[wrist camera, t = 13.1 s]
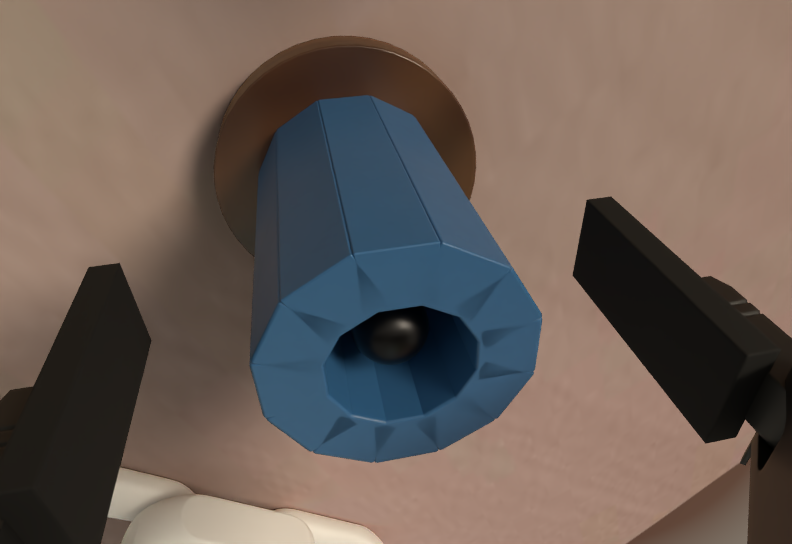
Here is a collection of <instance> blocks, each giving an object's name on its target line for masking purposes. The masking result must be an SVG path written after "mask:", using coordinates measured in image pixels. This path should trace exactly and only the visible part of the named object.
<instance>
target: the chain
mask: <svg viewBox="0 0 792 544" xmlns="http://www.w3.org/2000/svg"><path fill="white" fill-rule="evenodd" d="M107 517H109V518H115V519H120V520H126V521H132V522H131V524H130V525H129V527H128V528H127V530H126V532H125V534H124V537H123V539H122V542H121V544H383V542H382V541H381V540H380V539H379V538H378V537H377V536H376V535H375V534H374V533H373V532H372V531H371V530H369V529H368V528H366V527H364V526H362V525H358V524H354V523H350V522H346V521H341V520H337V519H333V518H329V517H325V516H321V515H317V514H312V513H308V512H304V511H300V510H296V509H290V508H281V509H276V510H268V509H264V508H260V507H255V506H251V505H247V504H243V503H238V502H234V501H230V500H226V499H221V498H217V497H213V496H208V495H201V494H195V493H194V492H193V491H192V490H190V489H189V488H188V487H187V486H185V485H184V484H182V483H180V482H178V481H175V480H171V479H167V478H163V477H159V476H155V475H150V474H146V473H142V472H138V471H134V470H130V469H126V468H121V467H120V468H119V472H118V476H117V480H116V484H115V488H114V492H113V496H112V500H111V504H110V508H109V512H108V516H107Z"/></svg>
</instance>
